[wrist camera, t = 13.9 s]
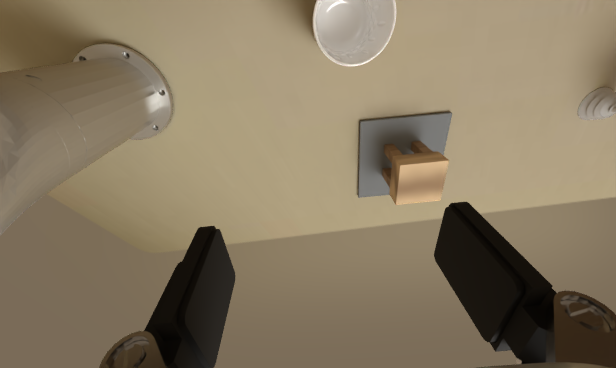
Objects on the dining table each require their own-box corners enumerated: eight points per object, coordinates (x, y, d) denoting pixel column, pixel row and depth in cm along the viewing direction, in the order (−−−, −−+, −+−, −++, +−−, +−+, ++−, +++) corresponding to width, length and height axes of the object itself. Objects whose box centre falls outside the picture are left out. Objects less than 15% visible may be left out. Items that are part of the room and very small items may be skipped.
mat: (358, 195, 46) (358, 197, 46) (359, 120, 39) (360, 121, 39) (434, 188, 46) (435, 190, 46) (450, 112, 39) (452, 113, 39)
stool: (382, 142, 41) (400, 165, 34) (422, 138, 41) (449, 160, 34) (380, 177, 44) (395, 204, 37) (417, 174, 44) (440, 200, 37)
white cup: (363, 59, 35) (386, 68, 26) (306, 55, 34) (310, 64, 26) (374, -14, 31) (405, -30, 22) (309, -18, 30) (315, -38, 22)
